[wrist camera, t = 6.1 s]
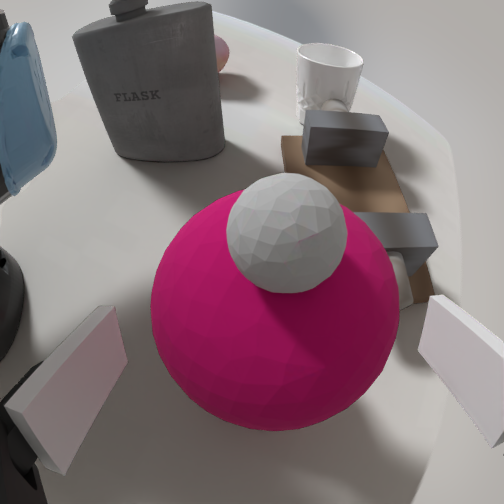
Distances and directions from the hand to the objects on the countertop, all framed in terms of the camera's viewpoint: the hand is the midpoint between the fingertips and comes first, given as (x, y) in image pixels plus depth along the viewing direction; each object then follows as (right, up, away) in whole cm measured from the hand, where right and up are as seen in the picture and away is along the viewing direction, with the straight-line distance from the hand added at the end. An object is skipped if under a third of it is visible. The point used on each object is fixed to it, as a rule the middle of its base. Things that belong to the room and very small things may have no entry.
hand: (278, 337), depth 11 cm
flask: (-12, +16, +23) cm, 30 cm away
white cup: (+8, +21, +25) cm, 34 cm away
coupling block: (+9, +7, +17) cm, 21 cm away
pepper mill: (0, -6, +10) cm, 12 cm away
